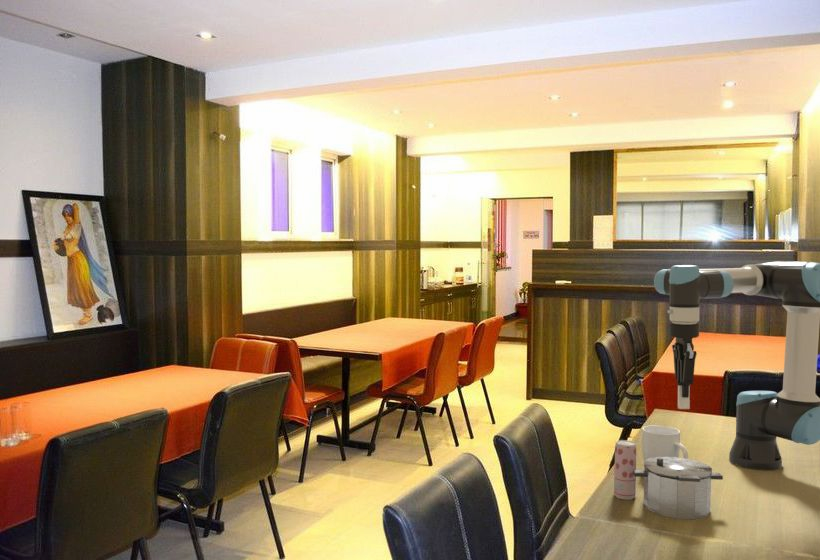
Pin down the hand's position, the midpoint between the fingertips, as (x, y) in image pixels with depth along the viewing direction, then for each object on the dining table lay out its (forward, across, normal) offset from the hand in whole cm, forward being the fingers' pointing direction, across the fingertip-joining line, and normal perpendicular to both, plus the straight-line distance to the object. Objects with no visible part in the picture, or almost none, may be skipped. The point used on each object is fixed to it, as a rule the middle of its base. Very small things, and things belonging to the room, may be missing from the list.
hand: (683, 408), depth 190 cm
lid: (+15, +7, -4) cm, 17 cm away
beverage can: (+25, 0, -16) cm, 30 cm away
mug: (+26, -22, +1) cm, 34 cm away
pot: (+25, +7, -4) cm, 26 cm away
